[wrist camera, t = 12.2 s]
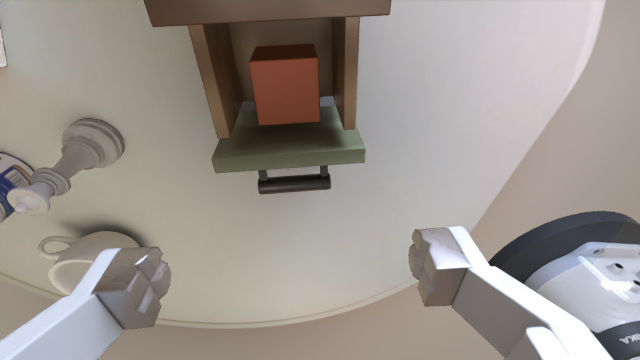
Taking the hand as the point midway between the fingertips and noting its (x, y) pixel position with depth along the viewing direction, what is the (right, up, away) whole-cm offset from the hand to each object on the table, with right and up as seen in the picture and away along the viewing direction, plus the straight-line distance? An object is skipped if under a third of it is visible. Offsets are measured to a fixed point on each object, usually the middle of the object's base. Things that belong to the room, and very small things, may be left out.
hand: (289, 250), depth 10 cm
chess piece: (-20, +6, +18) cm, 27 cm away
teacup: (-24, -5, +25) cm, 35 cm away
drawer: (-2, +11, +15) cm, 19 cm away
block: (-2, +11, +14) cm, 17 cm away
